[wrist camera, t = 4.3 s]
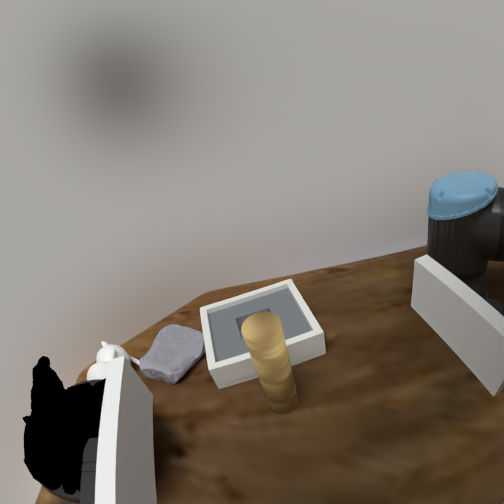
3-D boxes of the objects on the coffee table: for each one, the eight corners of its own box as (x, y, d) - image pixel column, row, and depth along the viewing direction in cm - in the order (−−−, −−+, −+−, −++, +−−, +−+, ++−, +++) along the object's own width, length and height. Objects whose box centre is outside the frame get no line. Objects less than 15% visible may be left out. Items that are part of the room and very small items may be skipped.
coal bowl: (170, 531, 25) (73, 485, 16) (58, 506, 27) (-33, 444, 18) (184, 413, 43) (125, 329, 34) (86, 413, 44) (23, 340, 35)
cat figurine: (97, 328, 51) (81, 375, 40) (151, 341, 54) (146, 390, 43) (96, 360, 54) (84, 406, 43) (146, 372, 57) (141, 419, 46)
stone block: (215, 346, 57) (170, 333, 60) (211, 330, 55) (165, 317, 58) (188, 396, 48) (141, 377, 51) (181, 382, 46) (132, 363, 49)
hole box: (294, 298, 61) (290, 278, 59) (325, 353, 47) (323, 332, 45) (207, 326, 60) (199, 307, 57) (218, 388, 46) (208, 370, 43)
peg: (293, 385, 43) (274, 307, 36) (302, 407, 40) (285, 331, 32) (265, 394, 43) (238, 319, 35) (273, 417, 39) (245, 344, 32)
